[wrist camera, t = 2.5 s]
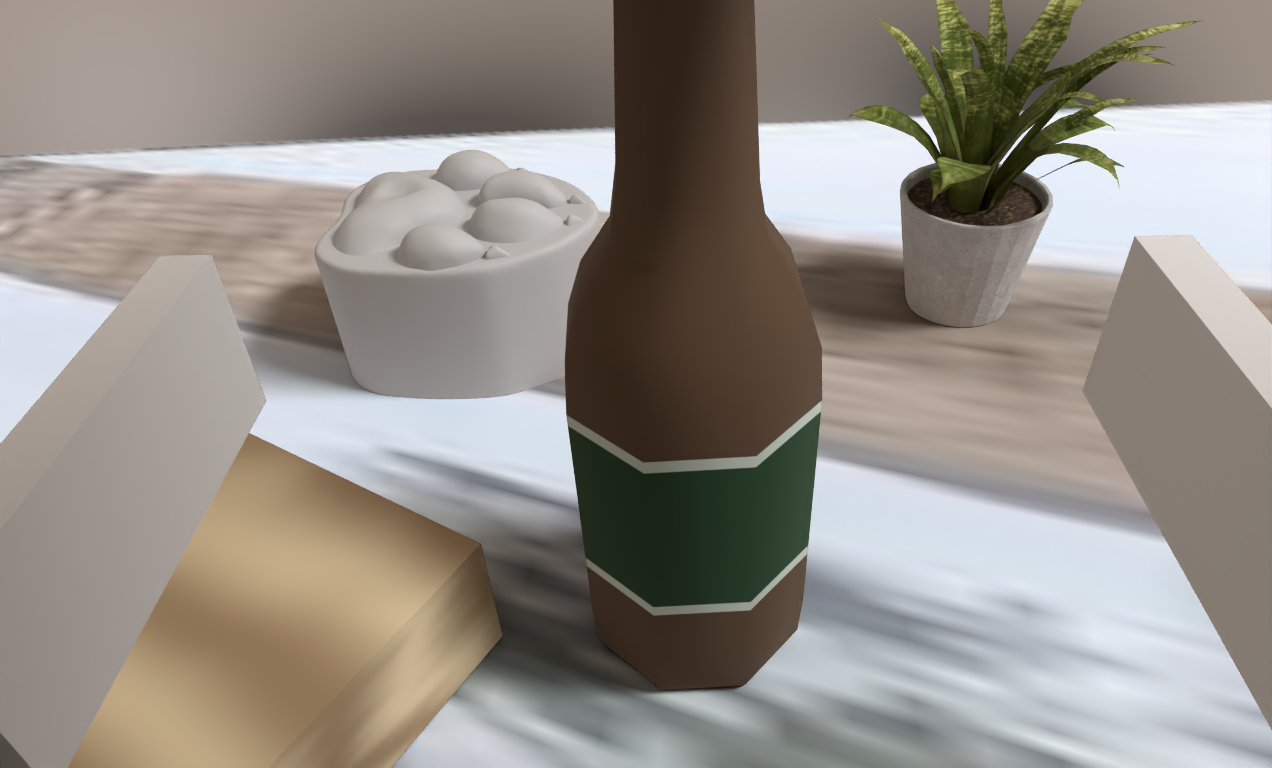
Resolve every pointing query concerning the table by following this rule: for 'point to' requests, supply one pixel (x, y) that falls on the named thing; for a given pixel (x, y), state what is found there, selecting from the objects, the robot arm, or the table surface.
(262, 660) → the olive wood block
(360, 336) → the lumpy-topped squat cylinder
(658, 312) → the beer bottle
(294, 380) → the table surface
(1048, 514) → the table surface
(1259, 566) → the robot arm
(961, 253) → the house plant
